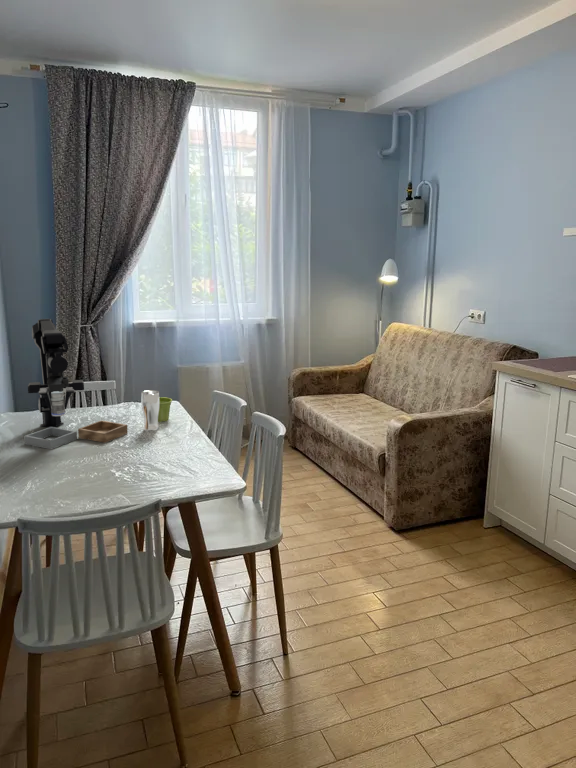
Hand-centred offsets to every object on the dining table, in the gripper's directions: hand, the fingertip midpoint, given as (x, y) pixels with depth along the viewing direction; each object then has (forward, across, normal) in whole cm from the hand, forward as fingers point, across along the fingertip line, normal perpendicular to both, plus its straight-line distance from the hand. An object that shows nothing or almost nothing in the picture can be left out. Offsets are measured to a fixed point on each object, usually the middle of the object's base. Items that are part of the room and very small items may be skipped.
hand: (58, 409), depth 212 cm
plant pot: (+12, +39, +16) cm, 44 cm away
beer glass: (+12, +34, +5) cm, 36 cm away
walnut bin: (+12, +15, +2) cm, 19 cm away
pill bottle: (+2, 0, 0) cm, 2 cm away
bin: (+12, -3, 0) cm, 12 cm away
